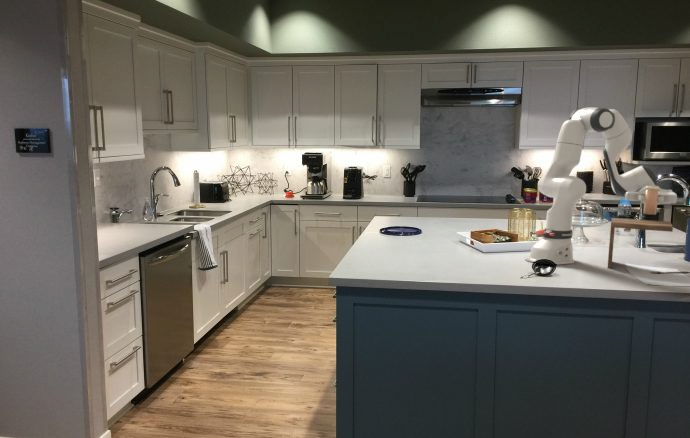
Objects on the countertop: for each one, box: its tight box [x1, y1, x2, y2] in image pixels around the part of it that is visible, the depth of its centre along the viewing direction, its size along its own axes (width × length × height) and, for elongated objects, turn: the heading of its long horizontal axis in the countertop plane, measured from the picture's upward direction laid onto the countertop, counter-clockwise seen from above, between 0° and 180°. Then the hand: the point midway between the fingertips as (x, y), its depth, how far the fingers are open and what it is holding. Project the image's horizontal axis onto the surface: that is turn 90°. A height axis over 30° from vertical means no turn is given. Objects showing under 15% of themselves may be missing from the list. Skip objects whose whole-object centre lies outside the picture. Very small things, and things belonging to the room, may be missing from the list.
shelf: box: [607, 217, 674, 269], centre depth 246 cm, size 15×23×20 cm, turn 64°
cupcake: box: [535, 220, 544, 237], centre depth 300 cm, size 9×8×12 cm
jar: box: [642, 185, 660, 216], centre depth 248 cm, size 5×5×12 cm
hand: (651, 198), depth 247 cm, fingers closed on jar, 5 cm apart
